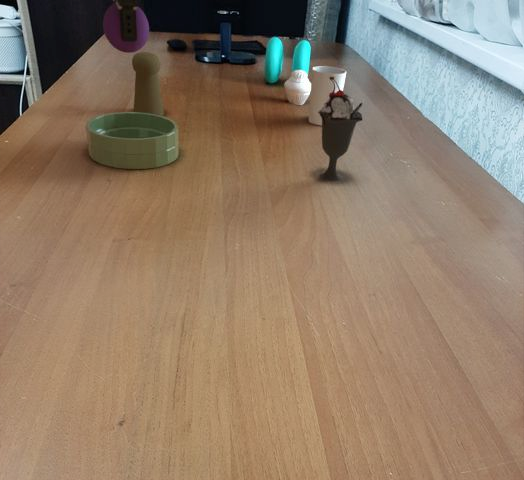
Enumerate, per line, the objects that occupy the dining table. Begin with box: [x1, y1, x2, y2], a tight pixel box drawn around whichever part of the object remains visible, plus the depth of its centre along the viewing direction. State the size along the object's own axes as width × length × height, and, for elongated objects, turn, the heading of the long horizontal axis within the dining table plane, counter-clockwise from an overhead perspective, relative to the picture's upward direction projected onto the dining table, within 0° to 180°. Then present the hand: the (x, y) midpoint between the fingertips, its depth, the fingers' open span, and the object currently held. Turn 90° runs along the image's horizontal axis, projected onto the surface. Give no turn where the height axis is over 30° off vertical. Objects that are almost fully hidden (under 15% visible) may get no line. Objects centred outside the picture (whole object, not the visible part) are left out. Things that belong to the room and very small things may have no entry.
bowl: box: [85, 111, 180, 170], centre depth 92 cm, size 14×14×5 cm
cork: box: [131, 51, 165, 116], centre depth 108 cm, size 6×6×11 cm
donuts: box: [264, 36, 312, 84], centre depth 137 cm, size 10×10×10 cm
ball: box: [102, 3, 150, 54], centre depth 81 cm, size 6×6×6 cm
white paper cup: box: [308, 65, 347, 127], centre depth 112 cm, size 7×7×10 cm
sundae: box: [318, 77, 363, 182], centre depth 87 cm, size 7×7×15 cm
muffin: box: [283, 69, 311, 106], centre depth 124 cm, size 6×6×7 cm
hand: (126, 35), depth 82 cm, fingers closed on ball, 6 cm apart
